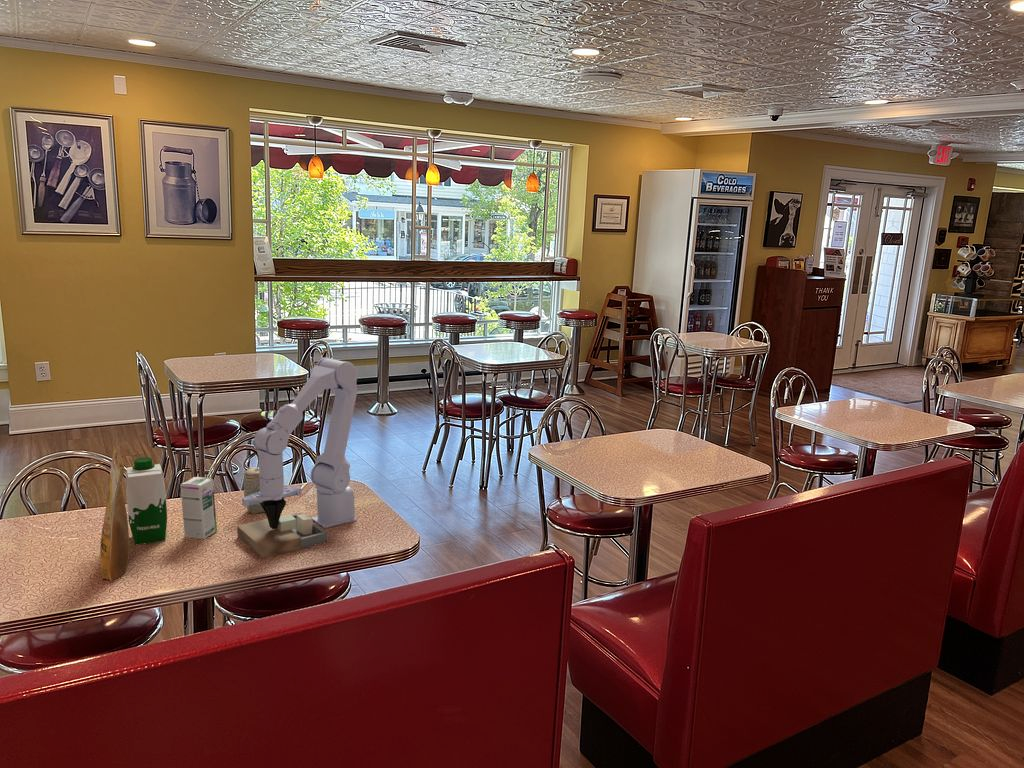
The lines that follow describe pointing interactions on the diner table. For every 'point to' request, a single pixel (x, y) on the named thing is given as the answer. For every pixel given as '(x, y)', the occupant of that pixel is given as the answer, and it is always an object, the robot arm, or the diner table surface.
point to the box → (311, 535)
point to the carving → (252, 488)
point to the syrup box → (198, 507)
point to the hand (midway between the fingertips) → (273, 527)
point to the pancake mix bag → (115, 524)
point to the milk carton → (146, 501)
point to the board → (268, 539)
